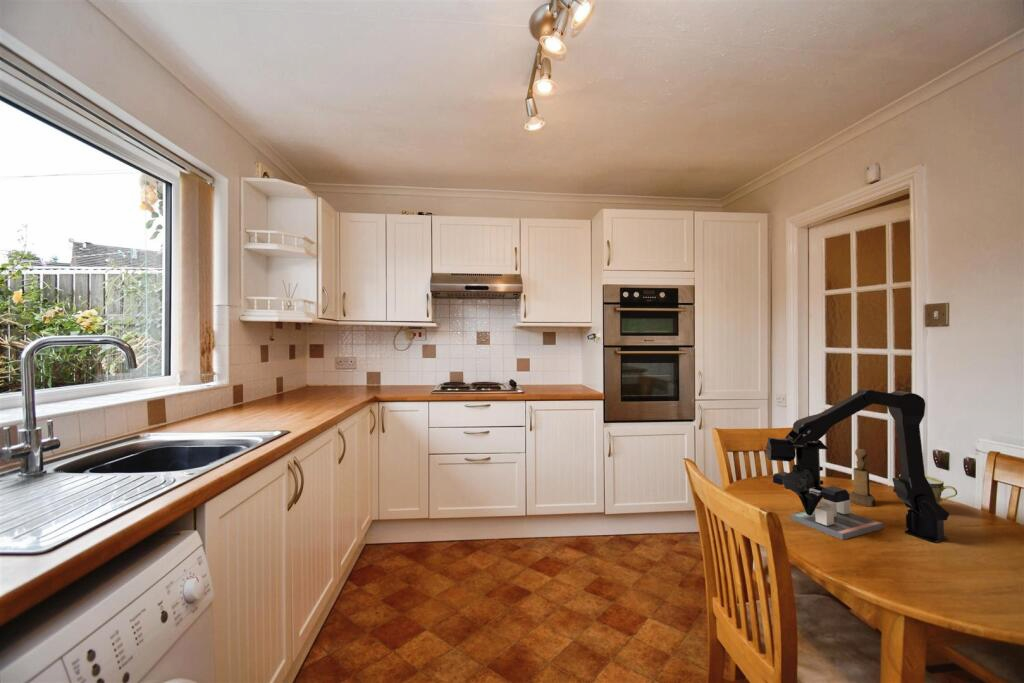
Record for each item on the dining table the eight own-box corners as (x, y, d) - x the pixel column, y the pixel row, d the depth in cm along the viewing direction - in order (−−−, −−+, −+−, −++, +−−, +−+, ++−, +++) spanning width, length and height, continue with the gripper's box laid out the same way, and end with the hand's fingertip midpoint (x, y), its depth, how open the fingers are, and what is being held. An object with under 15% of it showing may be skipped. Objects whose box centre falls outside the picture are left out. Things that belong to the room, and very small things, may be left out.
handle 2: (833, 524, 114) (833, 510, 114) (826, 525, 113) (826, 511, 113) (822, 519, 117) (822, 506, 117) (815, 521, 116) (815, 507, 116)
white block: (850, 512, 122) (850, 499, 122) (844, 514, 121) (844, 501, 121) (839, 509, 124) (839, 496, 124) (833, 510, 123) (833, 497, 123)
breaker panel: (882, 528, 115) (882, 523, 115) (842, 539, 109) (842, 534, 109) (829, 510, 128) (829, 505, 128) (790, 519, 122) (790, 514, 122)
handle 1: (836, 516, 119) (836, 502, 119) (830, 517, 118) (829, 504, 118) (825, 512, 122) (825, 499, 122) (819, 514, 121) (819, 500, 121)
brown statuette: (845, 501, 135) (843, 447, 136) (855, 497, 138) (854, 445, 138) (869, 508, 129) (867, 452, 130) (879, 504, 132) (878, 450, 132)
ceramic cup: (894, 507, 130) (893, 476, 130) (907, 501, 134) (906, 471, 135) (951, 522, 118) (950, 488, 118) (964, 515, 123) (963, 482, 123)
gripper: (759, 457, 125) (760, 507, 125) (823, 475, 108) (825, 533, 108) (784, 453, 129) (785, 502, 129) (849, 470, 112) (851, 526, 112)
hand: (809, 514), depth 119 cm, fingers closed
